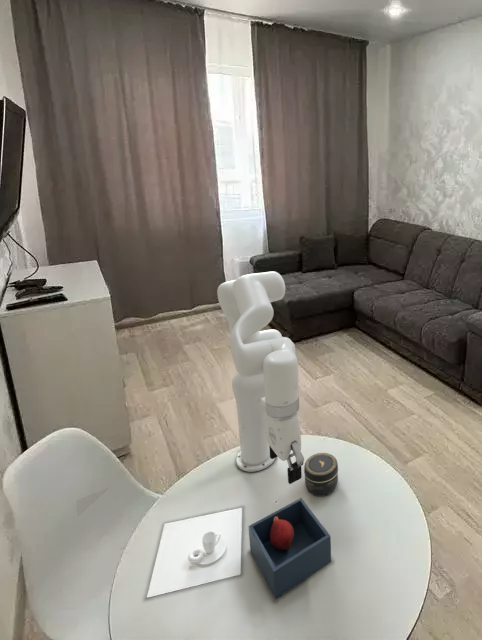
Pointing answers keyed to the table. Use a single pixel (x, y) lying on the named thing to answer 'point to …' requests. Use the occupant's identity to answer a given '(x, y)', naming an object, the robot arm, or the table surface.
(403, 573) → the table surface
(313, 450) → the table surface
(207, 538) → the teacup and saucer
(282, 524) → the pomegranate
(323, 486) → the jar
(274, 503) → the table surface
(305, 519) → the bin
